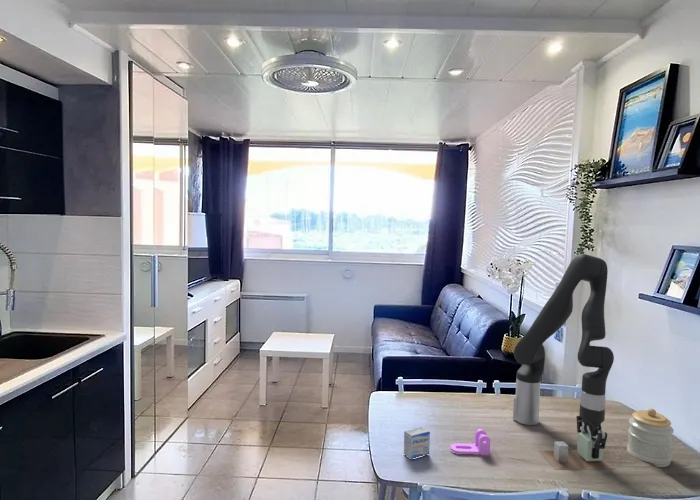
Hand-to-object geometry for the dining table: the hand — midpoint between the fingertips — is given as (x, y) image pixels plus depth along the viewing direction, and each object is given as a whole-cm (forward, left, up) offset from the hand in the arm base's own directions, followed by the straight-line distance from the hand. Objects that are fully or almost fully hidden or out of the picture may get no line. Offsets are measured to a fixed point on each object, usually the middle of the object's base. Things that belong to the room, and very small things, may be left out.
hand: (589, 453), depth 155 cm
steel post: (-8, -6, -2) cm, 10 cm away
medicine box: (-49, -31, -4) cm, 58 cm away
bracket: (-36, -17, -4) cm, 40 cm away
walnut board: (-4, -3, -4) cm, 6 cm away
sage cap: (0, 0, -1) cm, 1 cm away
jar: (+16, +17, -4) cm, 24 cm away
